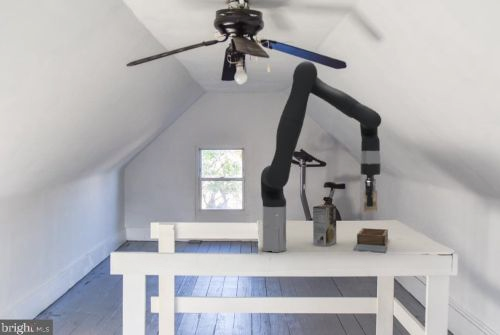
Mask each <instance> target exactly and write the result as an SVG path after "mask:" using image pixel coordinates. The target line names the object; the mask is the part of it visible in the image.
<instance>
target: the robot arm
mask: <svg viewBox="0 0 500 335" xmlns="http://www.w3.org/2000/svg"><path fill="white" fill-rule="evenodd" d="M317 69H318V68H317V67H316V65H315V64H314V63H313V62H311V61H308V60H307V61H306V60H304V61H302V62H300V63H298V64H297V66H295V69H294V71H293V74H292V84H291V88H290V93H289V96H288V98H287V100H286V103H285V106H284V107H283V110H282V112H281V116H280V119H279V122H278V125H277V128H276V135H275V138H276V139H275V140H276V141H275V151H274V154H273V155H274V156H273V159H272V161H271V163H270V164H269V165H267V166H266V167H264V169H263V170H262V171H261V175H260V191H261V192H260V196H261V202H262V251H263V252H268V251H272V253H280V252H284V251H286V250H287V199H286V197H285V194H284V187H285V186H286V185H287V184H288V181H289V178H290V174H291V168H292V164H293V163H292V162H293V158H294V154H295V151H296V148H297V145H298V141H299V139H300V135H301V133H302V130H303V129H302V128H303V126H304V123H305V122H304V121H305V117H306V112H307V107H308V102H309V97H310V94H312V95H314V96H315V97H317V98H320V99H321V100H323V101H324V102H325V103H327V104H329V105H330V106H332V107H333V108H334V109H336V110H338V111H340V112H341V113H342V114H343V115H345V116H346V117H349V118H350V119H354V120H355V121H357V122H358V123H359V127H360V129H359V130H360V136H361V142H360V143H361V144H360V145H361V148H360V149H361V150H360V152H361V153H360V174H361V175H362V176H363V175H365V176H366V178H365V179H364V184H365V187H364V191H365V190H366V193H365V195H366V197H367V206H368V207H372V206H373V191H376V188H377V187H376V183H377V179H376V178H375V176H378V175H379V176H380V174H381V152H380V151H381V143H380V142H381V140H380V137H379V127H380V125H381V123H382V116H381V115H380V114H379V113H378V112H377V111H376V110H374V109H373V108H371V107H368V106H367V105H364V104H362V103H361V102H359V101H358V100H357V99H356V98H354V97H353V96H351V95H349V94H347V93H346V92H345V91H342V90H340V89H338V88H335V87H333V86H331V85H329V84H327V83H325V81H323V80H322V79H320V78H319V77H318V70H317ZM368 191H371V192H368Z"/></svg>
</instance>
